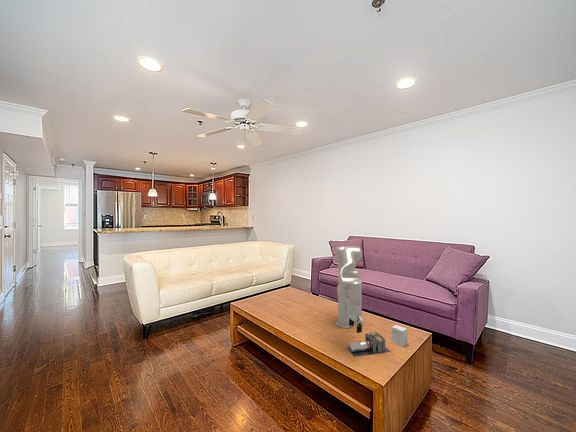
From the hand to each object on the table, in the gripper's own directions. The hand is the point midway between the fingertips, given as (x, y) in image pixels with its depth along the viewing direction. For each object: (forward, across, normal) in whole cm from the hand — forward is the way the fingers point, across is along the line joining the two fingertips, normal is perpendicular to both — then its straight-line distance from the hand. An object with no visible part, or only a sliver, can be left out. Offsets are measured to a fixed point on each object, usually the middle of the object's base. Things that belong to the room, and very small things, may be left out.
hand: (355, 328), depth 158 cm
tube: (+14, -1, +7) cm, 16 cm away
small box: (+15, -4, +34) cm, 37 cm away
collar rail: (+15, -1, +9) cm, 17 cm away
